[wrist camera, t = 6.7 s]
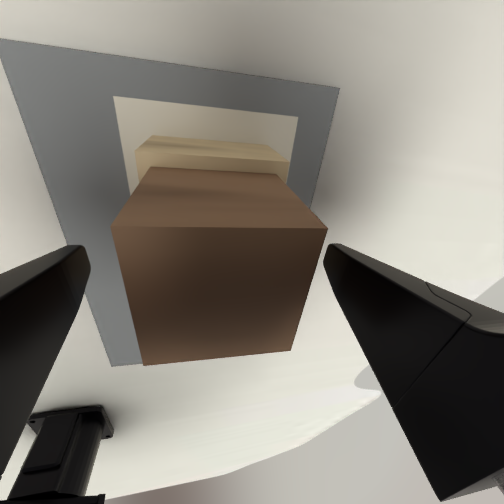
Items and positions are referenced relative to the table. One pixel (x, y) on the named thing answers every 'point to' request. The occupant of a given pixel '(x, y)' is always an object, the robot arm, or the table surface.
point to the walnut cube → (215, 263)
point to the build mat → (136, 133)
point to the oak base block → (209, 156)
